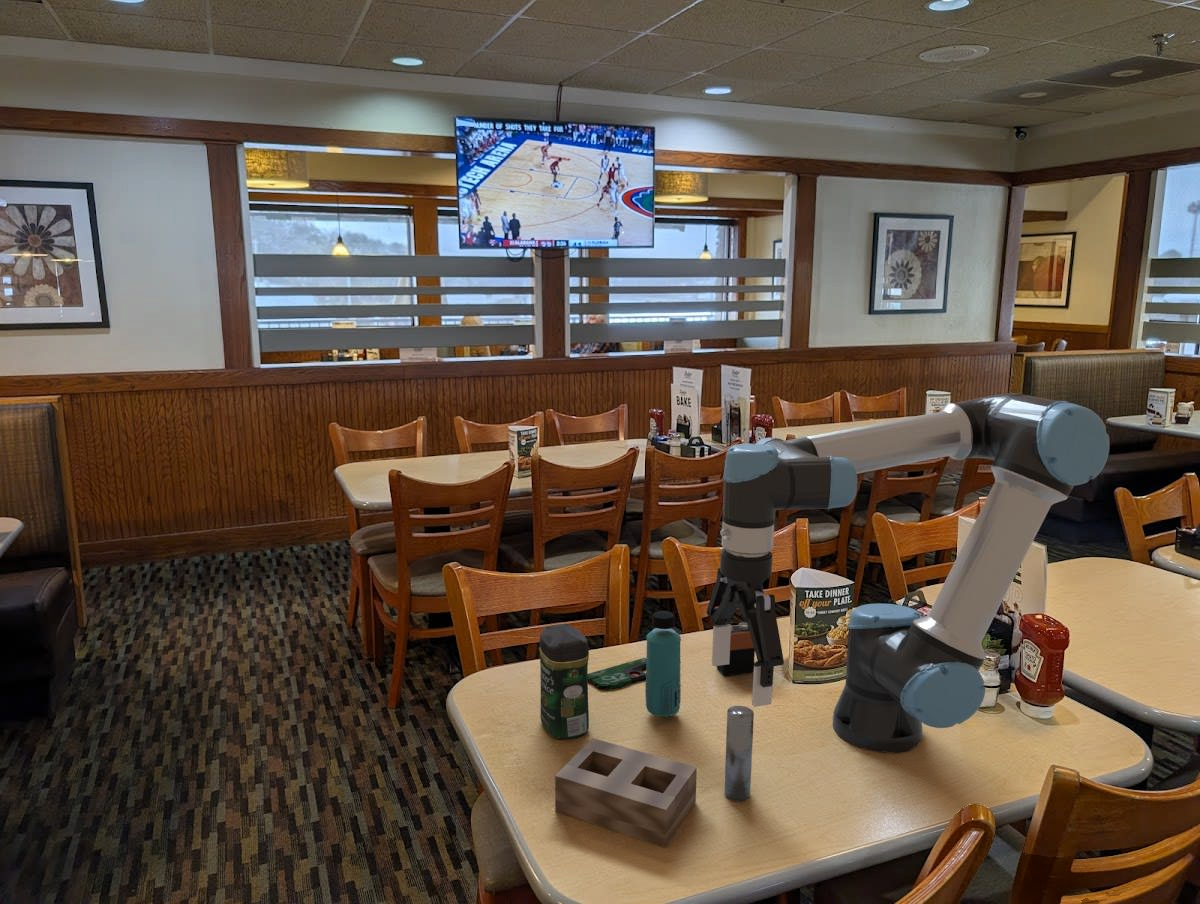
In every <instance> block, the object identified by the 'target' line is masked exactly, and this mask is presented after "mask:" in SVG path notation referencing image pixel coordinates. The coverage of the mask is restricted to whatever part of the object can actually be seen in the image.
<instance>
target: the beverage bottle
mask: <svg viewBox="0 0 1200 904" xmlns="http://www.w3.org/2000/svg"><path fill="white" fill-rule="evenodd" d="M652 615H653V616H652V622H651V625H652V627H653V629H652V630H651V631H649V633H647V635H646V639H645V640H646V658H647V663H646V667H645V668H646V670H645V672H644V673H645V674H646V681H645V690H644V692H645V696H644V697H645V698H644V699H645V707H646V710H647V712H649V714H651V715H653V716H657V717H666V718H667V717H671V716H674V715H676V714H677V713H679V712H680V708H681V707H680V706H681V703H682V702H681V693H682V692H681V687H682V684H681V679H682V678H681V677H682V676H681V657H682V656H681V640H682V638H681V635H680V634H679V633H678V632H677V631H676V630H675V629H674V628H675V626H676V620H675V614H674V613H673V612H671V611H667V610H658V611H655V612H654V613H653V614H652Z"/></svg>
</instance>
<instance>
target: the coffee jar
mask: <svg viewBox="0 0 1200 904" xmlns="http://www.w3.org/2000/svg"><path fill="white" fill-rule="evenodd" d="M589 650H590V649H589V641H588V639H587V638H586V636H585V635H584V634H583V633H582V632H581V631H580V630H579V629H578V628H575V626H572V625H569V624H568V623H559V624H553V625H549V626H545V628H544V629H542V631H541V633H540V636H539V661H540V662H539V663H540V670H539V671H540V673H539V674H540V675H539V677H540V709H539V710H540V721H541V724H542V726H543V728H544V730H545V731H546V732H547V733H548V734H549V735H550V736H551V737H552V738H554V739H561V740H569V739H570V740H571V739H575V738H578V737H581V736H583V735H584V734H586V733H587V732H588V731H589V728H590V727H589V726H590V725H589V724H590V722H589V721H590V715H589V714H590V711H589V683H588V682H589V680H588V674H589V673H588V671H589V669H588V667H589V666H588V664H589V658H590V657H589V656H590V654H589V653H590V651H589Z"/></svg>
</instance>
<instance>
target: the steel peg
mask: <svg viewBox="0 0 1200 904" xmlns="http://www.w3.org/2000/svg"><path fill="white" fill-rule="evenodd" d="M754 714H755V713H754V710H753V709H751V708H750V707H748V706H745V705H733V706H730V707H728V709H727V713H726V738H725V764H724V766H725V767H724V796H725V798H726V799H727V800H729V801H731V802H736V803H743V802H747V801H748V800H749V799H750V798H751V788H752V787H751V785H752V784H751V783H752V764H753V762H752V761H753V740H754V738H753V737H754V719H755V717H754V716H755V715H754Z"/></svg>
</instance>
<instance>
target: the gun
mask: <svg viewBox="0 0 1200 904" xmlns="http://www.w3.org/2000/svg"><path fill="white" fill-rule="evenodd" d="M646 663H647V657H642V658H639V659H635V660H631V661H628V662H625V663H621V664H617V665H614V666H610V667H607V668H604V669H600V670H597V671H593V672H590V673H588V682H589V683H588V685H589V684H591V685H593V687H595V688H597V689H598V690H600V689H605V690H607V691H609V690H611V691H612V690H617V688H618V690H620V689H623V688H625V687H627V686H630V685H632V684H633V685H634V684H637V683H641V682H646V674H645V673H646V672H643V671H646V668H645V667H646ZM596 686H597V687H596ZM622 687H623V688H622Z"/></svg>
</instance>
